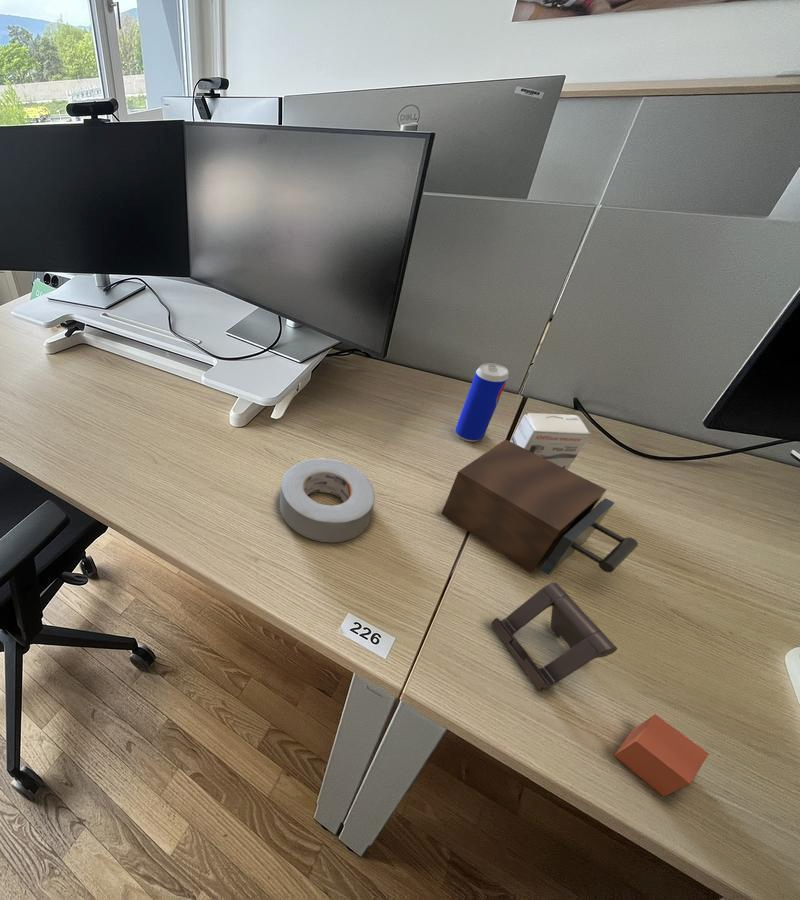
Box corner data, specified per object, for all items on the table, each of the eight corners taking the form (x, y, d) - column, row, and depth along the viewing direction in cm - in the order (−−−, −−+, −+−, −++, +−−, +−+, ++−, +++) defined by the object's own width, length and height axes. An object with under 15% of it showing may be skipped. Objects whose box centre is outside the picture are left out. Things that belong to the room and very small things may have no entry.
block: (682, 767, 49) (709, 753, 46) (663, 796, 47) (690, 784, 45) (632, 729, 52) (655, 713, 49) (613, 755, 50) (635, 740, 47)
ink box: (507, 482, 82) (534, 429, 75) (498, 463, 86) (522, 411, 78) (561, 485, 81) (594, 432, 73) (549, 466, 85) (579, 413, 77)
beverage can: (484, 444, 90) (513, 378, 81) (455, 441, 92) (480, 375, 82) (480, 428, 94) (507, 363, 84) (453, 425, 95) (476, 361, 86)
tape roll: (374, 488, 83) (380, 467, 80) (364, 553, 73) (369, 533, 69) (290, 470, 88) (292, 450, 85) (269, 529, 78) (270, 508, 74)
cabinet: (575, 533, 73) (606, 489, 67) (531, 573, 68) (560, 530, 62) (486, 481, 83) (505, 439, 76) (441, 513, 78) (458, 471, 71)
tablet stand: (487, 625, 62) (509, 590, 57) (539, 613, 63) (566, 577, 58) (536, 691, 56) (566, 659, 50) (593, 677, 57) (630, 643, 51)
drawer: (626, 559, 68) (657, 524, 63) (586, 601, 63) (615, 566, 58) (501, 488, 80) (519, 453, 75) (460, 518, 75) (476, 484, 70)
